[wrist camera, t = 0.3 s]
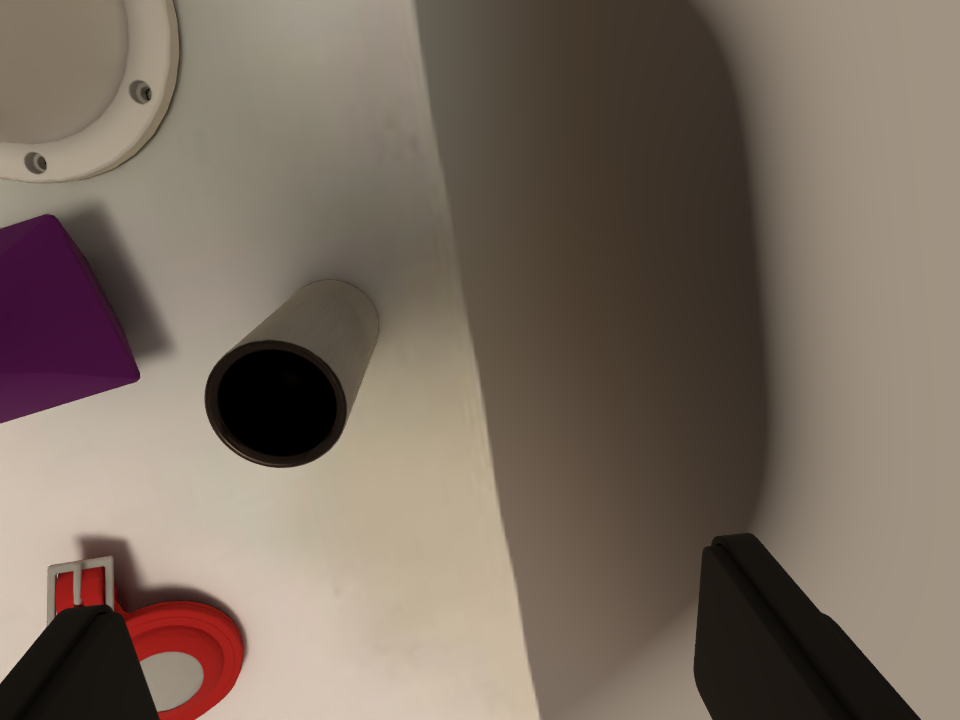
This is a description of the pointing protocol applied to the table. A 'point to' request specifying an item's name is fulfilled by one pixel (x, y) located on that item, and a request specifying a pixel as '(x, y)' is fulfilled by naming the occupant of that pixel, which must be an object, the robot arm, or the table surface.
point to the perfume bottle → (54, 323)
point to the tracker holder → (160, 638)
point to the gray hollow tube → (294, 377)
